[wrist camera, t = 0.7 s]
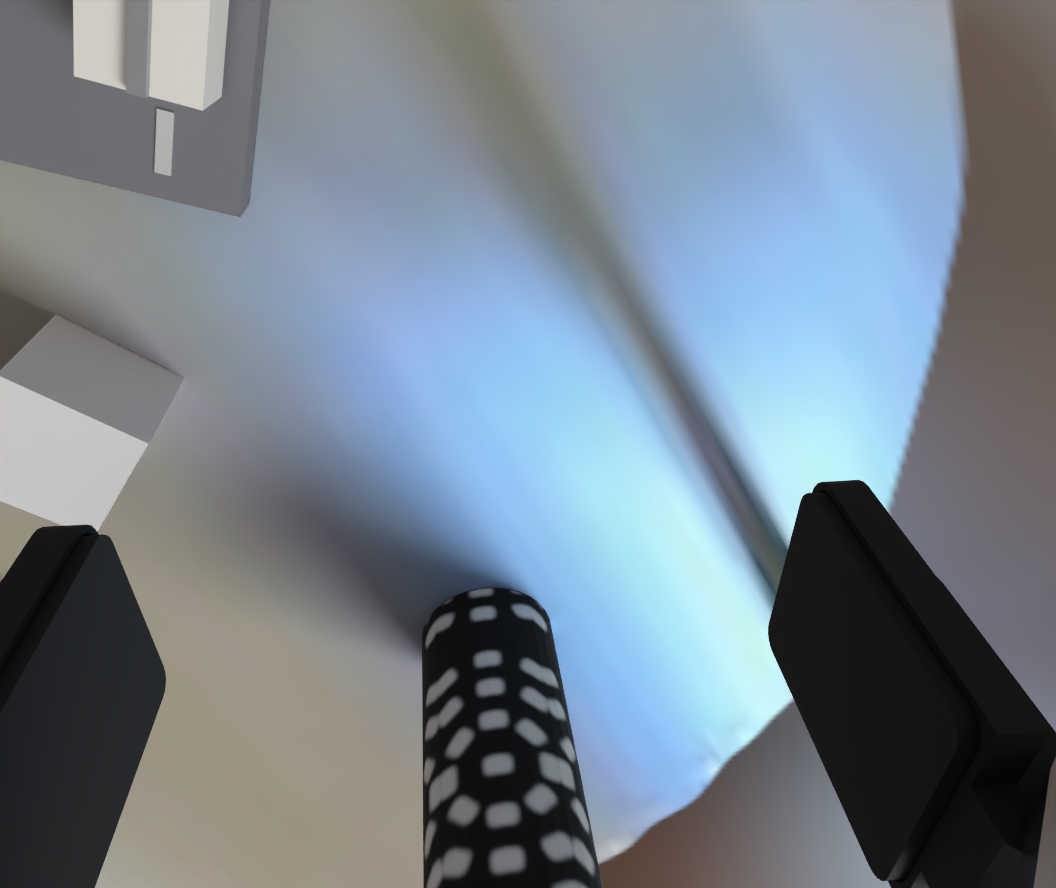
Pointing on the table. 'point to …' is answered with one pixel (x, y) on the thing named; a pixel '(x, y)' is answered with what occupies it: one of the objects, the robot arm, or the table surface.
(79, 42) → the fader
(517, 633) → the spotted tube
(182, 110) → the console
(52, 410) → the white cube
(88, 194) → the table surface
